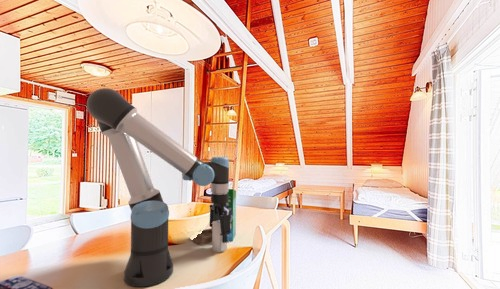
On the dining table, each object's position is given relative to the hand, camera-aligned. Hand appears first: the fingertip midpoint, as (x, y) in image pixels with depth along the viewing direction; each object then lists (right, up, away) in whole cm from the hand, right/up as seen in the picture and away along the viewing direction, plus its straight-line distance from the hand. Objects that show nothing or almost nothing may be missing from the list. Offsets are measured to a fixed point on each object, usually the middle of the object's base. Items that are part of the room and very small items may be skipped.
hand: (219, 246), depth 104 cm
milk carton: (+1, -2, +14) cm, 15 cm away
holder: (-8, -1, +13) cm, 15 cm away
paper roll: (0, -1, 0) cm, 1 cm away
